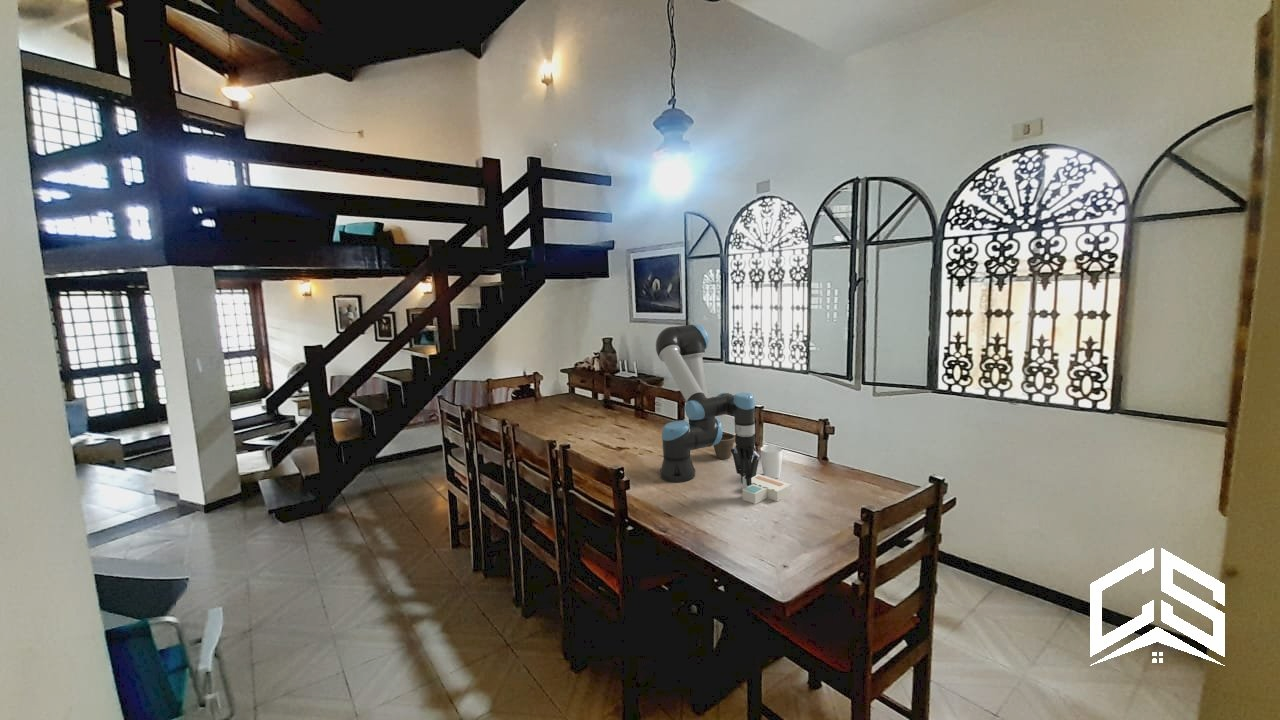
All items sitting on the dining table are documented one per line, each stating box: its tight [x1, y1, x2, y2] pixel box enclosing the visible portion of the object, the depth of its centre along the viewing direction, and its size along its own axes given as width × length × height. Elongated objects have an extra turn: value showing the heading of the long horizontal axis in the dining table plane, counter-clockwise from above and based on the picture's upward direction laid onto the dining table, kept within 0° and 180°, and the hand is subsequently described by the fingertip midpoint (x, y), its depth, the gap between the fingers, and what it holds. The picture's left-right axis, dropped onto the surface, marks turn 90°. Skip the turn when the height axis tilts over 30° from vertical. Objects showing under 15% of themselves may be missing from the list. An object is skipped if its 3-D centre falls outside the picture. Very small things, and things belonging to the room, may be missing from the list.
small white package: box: [750, 473, 792, 502], centre depth 206 cm, size 16×9×4 cm, turn 40°
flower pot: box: [713, 432, 736, 460], centre depth 246 cm, size 12×11×10 cm
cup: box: [759, 445, 783, 480], centre depth 220 cm, size 9×9×12 cm
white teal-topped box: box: [742, 484, 768, 505], centre depth 200 cm, size 6×7×4 cm
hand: (746, 492), depth 203 cm, fingers closed
